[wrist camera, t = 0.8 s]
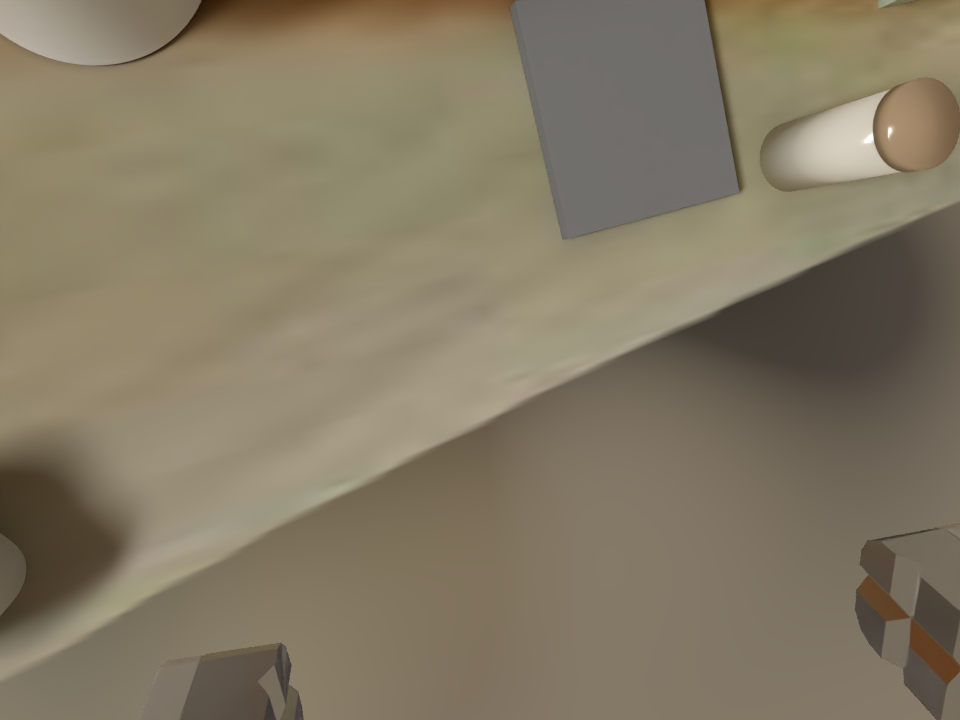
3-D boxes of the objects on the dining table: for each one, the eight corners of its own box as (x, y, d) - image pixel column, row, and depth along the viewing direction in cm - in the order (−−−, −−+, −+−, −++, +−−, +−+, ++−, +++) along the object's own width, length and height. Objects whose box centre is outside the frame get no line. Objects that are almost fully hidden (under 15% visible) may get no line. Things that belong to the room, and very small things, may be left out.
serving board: (509, 7, 47) (514, 1, 46) (689, -26, 50) (698, -33, 49) (562, 239, 50) (569, 238, 49) (729, 194, 53) (739, 192, 52)
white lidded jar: (753, 129, 53) (882, 87, 41) (812, 115, 54) (954, 69, 43) (765, 200, 54) (895, 178, 42) (823, 184, 55) (965, 158, 44)
